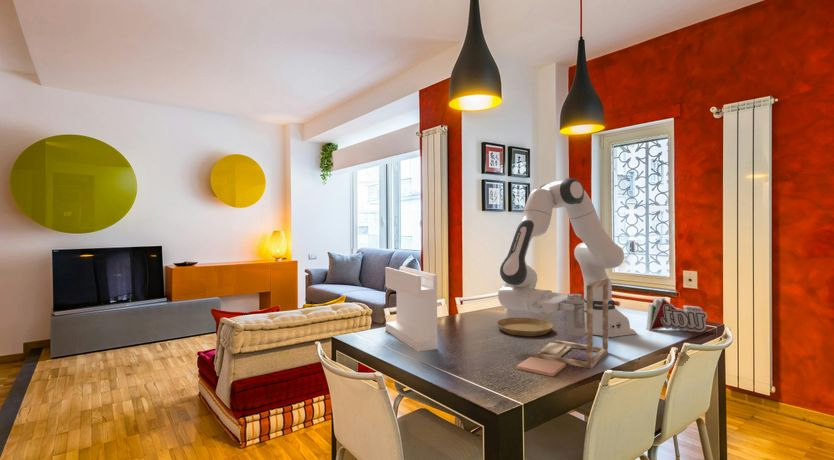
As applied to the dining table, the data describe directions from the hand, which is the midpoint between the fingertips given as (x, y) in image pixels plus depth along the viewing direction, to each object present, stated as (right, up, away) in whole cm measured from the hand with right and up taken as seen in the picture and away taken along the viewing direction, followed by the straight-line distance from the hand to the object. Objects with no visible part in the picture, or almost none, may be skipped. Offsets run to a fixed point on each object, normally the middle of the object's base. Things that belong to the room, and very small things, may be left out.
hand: (577, 305), depth 155 cm
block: (-60, -18, +24) cm, 67 cm away
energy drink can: (0, -11, +1) cm, 11 cm away
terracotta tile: (-16, -18, -12) cm, 27 cm away
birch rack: (-1, -18, +1) cm, 18 cm away
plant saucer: (-10, -18, +37) cm, 43 cm away
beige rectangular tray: (-7, -18, +5) cm, 20 cm away
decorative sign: (+56, -17, +36) cm, 69 cm away
